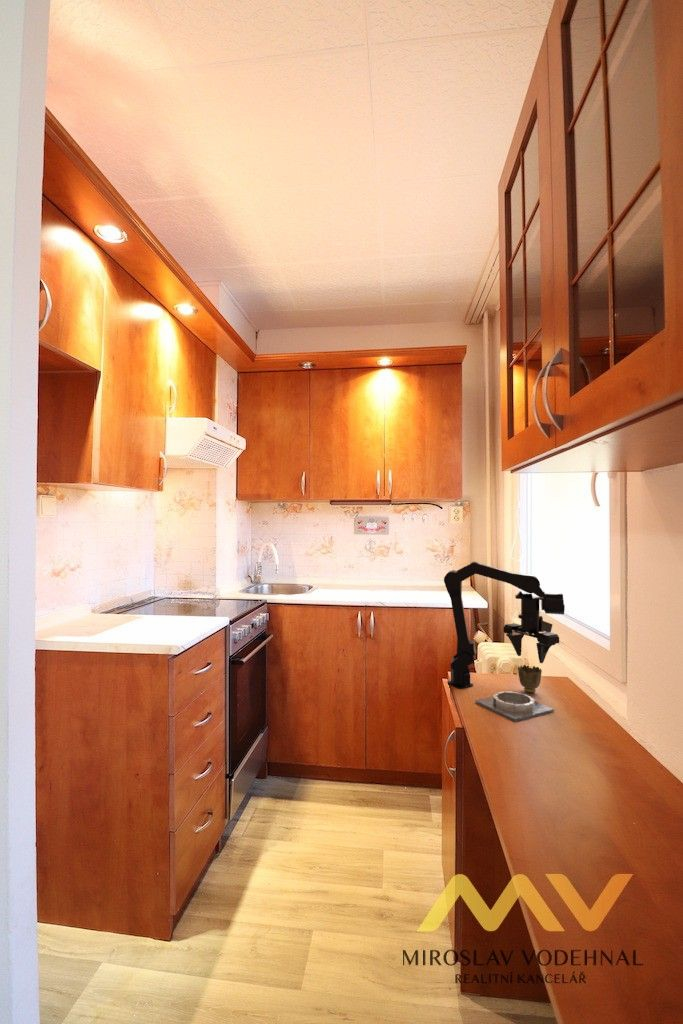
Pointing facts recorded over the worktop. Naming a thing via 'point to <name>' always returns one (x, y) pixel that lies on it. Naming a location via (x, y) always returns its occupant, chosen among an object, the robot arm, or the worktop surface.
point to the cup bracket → (514, 705)
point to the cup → (529, 678)
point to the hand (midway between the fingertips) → (530, 659)
